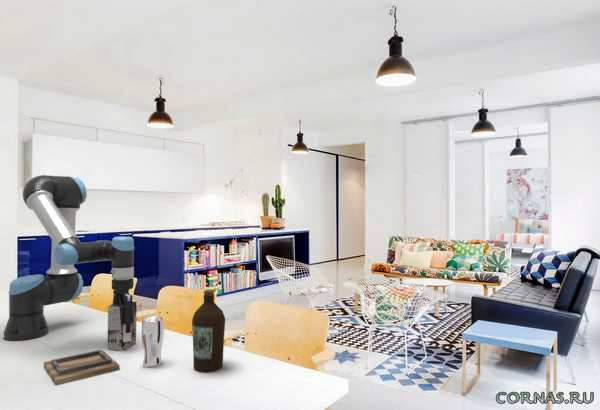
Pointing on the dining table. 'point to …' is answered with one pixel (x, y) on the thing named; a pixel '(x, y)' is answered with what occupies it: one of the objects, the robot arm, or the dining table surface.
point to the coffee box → (119, 327)
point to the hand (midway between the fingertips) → (122, 337)
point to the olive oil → (208, 335)
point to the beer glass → (152, 340)
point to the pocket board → (80, 366)
